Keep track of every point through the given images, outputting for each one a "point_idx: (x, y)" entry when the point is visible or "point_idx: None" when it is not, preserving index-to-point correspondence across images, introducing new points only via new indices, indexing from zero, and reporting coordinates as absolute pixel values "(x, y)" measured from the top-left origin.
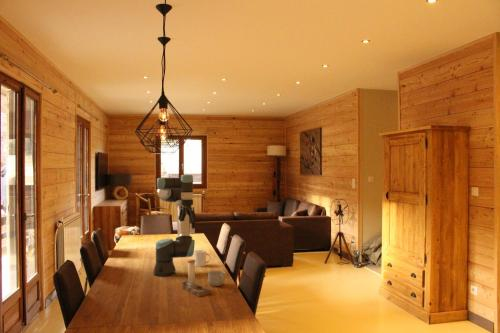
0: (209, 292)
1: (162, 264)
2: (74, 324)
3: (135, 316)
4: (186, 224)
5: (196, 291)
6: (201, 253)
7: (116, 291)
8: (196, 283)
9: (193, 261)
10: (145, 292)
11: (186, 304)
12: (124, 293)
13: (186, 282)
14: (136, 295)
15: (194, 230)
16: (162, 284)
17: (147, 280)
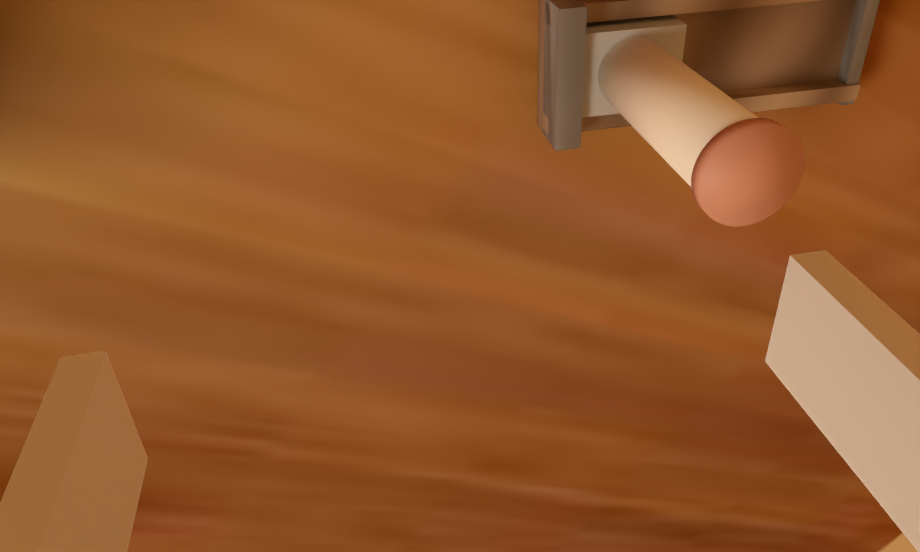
0: None
1: None
2: None
3: (824, 485)
4: None
5: (810, 103)
6: None
7: (321, 525)
8: (671, 30)
9: (799, 166)
10: (459, 388)
11: (896, 233)
12: (399, 492)
13: (578, 110)
14: (491, 442)
15: (886, 314)
16: (301, 234)
17: (80, 313)
